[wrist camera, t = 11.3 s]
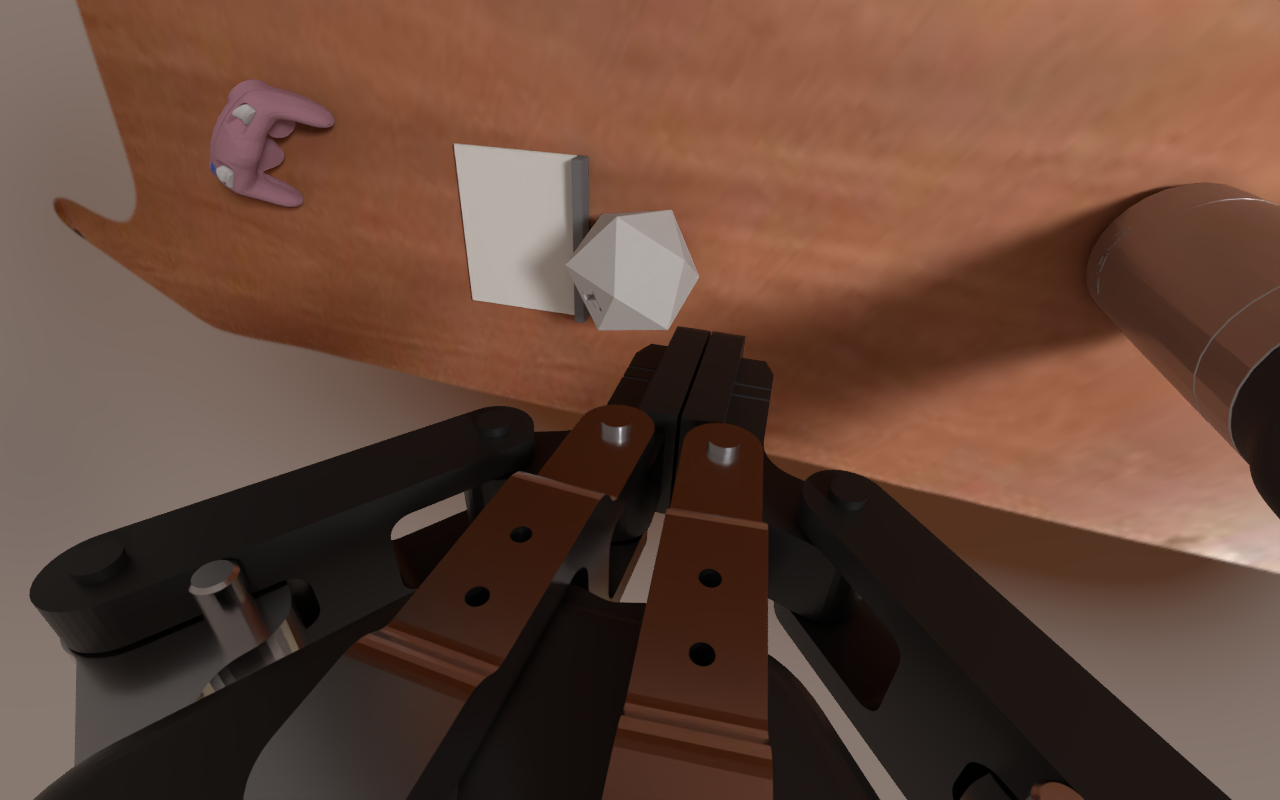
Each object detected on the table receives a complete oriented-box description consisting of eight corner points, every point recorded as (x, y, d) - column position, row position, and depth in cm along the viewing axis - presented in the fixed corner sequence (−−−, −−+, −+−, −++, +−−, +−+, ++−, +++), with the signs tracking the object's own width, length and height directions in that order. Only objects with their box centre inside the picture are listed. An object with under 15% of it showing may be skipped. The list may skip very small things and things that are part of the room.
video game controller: (307, 77, 47) (215, 63, 42) (343, 118, 47) (255, 111, 41) (274, 173, 53) (188, 173, 47) (306, 211, 53) (223, 216, 47)
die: (579, 219, 47) (527, 260, 39) (681, 174, 43) (647, 209, 35) (624, 313, 51) (585, 369, 42) (723, 279, 47) (701, 334, 39)
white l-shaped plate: (588, 156, 44) (581, 160, 43) (589, 315, 51) (583, 322, 50) (455, 143, 46) (445, 146, 45) (474, 298, 54) (466, 304, 52)
